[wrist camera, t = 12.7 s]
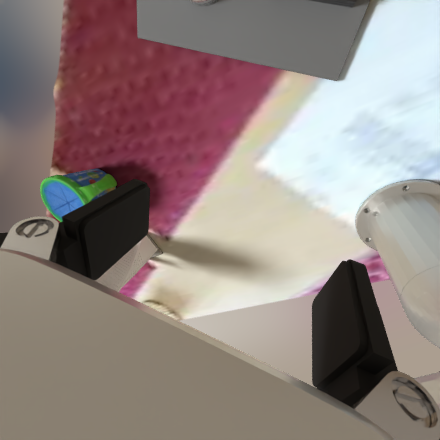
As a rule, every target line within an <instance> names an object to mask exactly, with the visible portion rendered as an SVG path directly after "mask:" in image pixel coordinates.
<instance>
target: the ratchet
mask: <svg viewBox="0 0 440 440" xmlns="http://www.w3.org/2000/svg"><path fill="white" fill-rule="evenodd" d="M189 1H191V2H192V3H194V4H196V5H199V6H209V5H211V4H213V3H215V2H216V1H218V0H189ZM309 1H315V2H321V3H327V4H333V5H339V6H345V7H351V8H352V7H353V6H354V4H355V3H356V1H357V0H309Z"/></svg>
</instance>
